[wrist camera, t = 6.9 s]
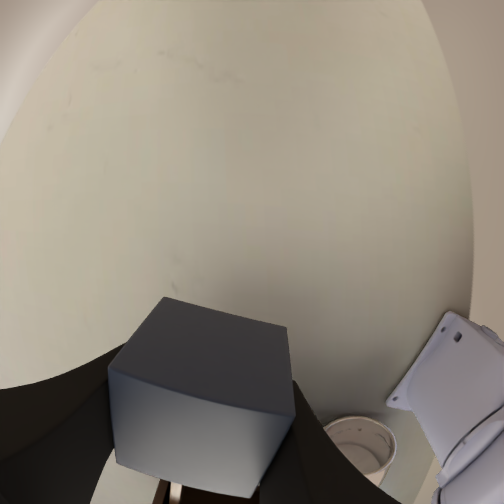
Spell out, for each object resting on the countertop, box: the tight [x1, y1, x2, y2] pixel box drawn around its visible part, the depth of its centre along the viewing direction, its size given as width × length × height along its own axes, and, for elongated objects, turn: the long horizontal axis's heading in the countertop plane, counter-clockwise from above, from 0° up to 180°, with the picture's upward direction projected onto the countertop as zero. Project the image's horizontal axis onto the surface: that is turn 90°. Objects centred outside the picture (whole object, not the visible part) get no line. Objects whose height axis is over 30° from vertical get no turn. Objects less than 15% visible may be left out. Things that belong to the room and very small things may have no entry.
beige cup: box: [323, 416, 397, 488], centre depth 20 cm, size 7×7×15 cm
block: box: [108, 297, 296, 498], centre depth 9 cm, size 4×4×4 cm
